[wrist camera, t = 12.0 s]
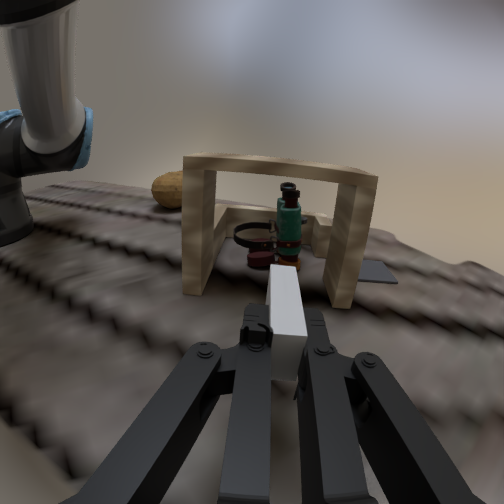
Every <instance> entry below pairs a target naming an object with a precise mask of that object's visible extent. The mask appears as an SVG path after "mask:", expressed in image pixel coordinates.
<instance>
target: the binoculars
mask: <svg viewBox="0 0 504 504" xmlns="http://www.w3.org/2000/svg"><path fill="white" fill-rule="evenodd" d="M280 186H281V191H282V198H278V201H277V222H276V221H275V220H272V219H270V220H271V221H274V222H275V223H274V229H275V230H274V231H271V232H270V230H271V229H272V223H271V222H270V220H269V222H248V223H243V224H240V225H237V226H236V227H235V228H234V229H233V235H234V241H235V242H236V243H237V244H239V245H241V246H243V247H246V248H249V252H250V254H248V255H247V260H248V265H249V266H266V265H270V264H275V263H278V264H279V265H283V266H293V267H296V271H297V270H299V269H300V262H301V261H300V259H298V254H299V253H300V250H301V243H302V241H303V240H302V233H301V225H302V224H307V218H306V217H302V216H301V206H300V204H299V202H298V198H299V197H300V191H299V190H296V185H295V184H293V183H290V182H286V183H282V184H281V185H280ZM246 229H268V230H269V233H273V232H276V236H277V237H275V236H271V237H270V239H266V238H257V239H254V240H251V241H250V240H245V239H242V238H240V237H238V236H237V235H236V233H237V232H240V231H243V230H246ZM272 238H276V239H277V247H276V248H274V246H273V240H272ZM275 251H277V252H279V254H281V255H282V256H280V257H279V258H278V261H275V256H274V253H273V252H275Z"/></svg>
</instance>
